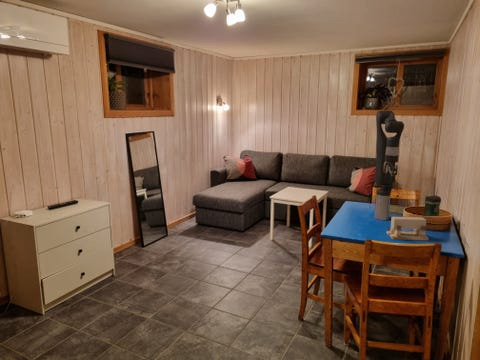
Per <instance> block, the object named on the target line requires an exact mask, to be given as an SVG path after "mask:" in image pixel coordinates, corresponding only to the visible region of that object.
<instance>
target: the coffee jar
mask: <svg viewBox="0 0 480 360" xmlns="http://www.w3.org/2000/svg"><path fill="white" fill-rule="evenodd" d="M441 203H442V198H441V196H438V195H429V196H425V197H424V210H423V215H424V216H439V217H440V205H441Z"/></svg>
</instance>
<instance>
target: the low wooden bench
mask: <svg viewBox="0 0 480 360" xmlns="http://www.w3.org/2000/svg"><path fill="white" fill-rule="evenodd" d="M426 230H427V227H425V226H421V230H419V229H413V231H408V230H407V231H403V230H402V229H401V226H397V227H396V229H393V228H392V227H391V226H390V230H386V234H387V235H388V237H390V238H391V239H392V240H395V241H396V240H397V241H399V240H400V241H407V240H408V241H429V239H430V238H429V237H428V236H427V235H426Z"/></svg>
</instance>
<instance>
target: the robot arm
mask: <svg viewBox="0 0 480 360" xmlns="http://www.w3.org/2000/svg"><path fill="white" fill-rule="evenodd" d="M375 116H376V117H375V124H376V149H375V150H376V151H375V154H376V155H375V156H376V157H375V170H374V171H375V172H374V182H375V184H376V185H377V186H382V187H381V188H378V189H377V190H376V193H375V194H376V195H375V209H374V219H376V220H381V221H388V220H389V219H390V217H389V216H390V214H389V208H390V205H391V195H392V191H393V190H392V189H393V185H394V184H393V183H395V182H396V176H398V170H399V169H398V167H399V166H398V164H396V163H399V159H400V158H399V157H400V141H401V136H402V134H403V131H404V128H405V124H404V122H403V121H401V120H397V119H396V116H395V113H394V111H393V110H378V111H377V112H376V115H375ZM382 125H384V129H383V126H382ZM385 132H386V134H387V133H388V134H395V135H394V136H389V137H388V136H387V135H386V134H385ZM383 170H384V171H383Z"/></svg>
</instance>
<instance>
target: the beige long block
mask: <svg viewBox="0 0 480 360" xmlns="http://www.w3.org/2000/svg"><path fill="white" fill-rule="evenodd" d="M397 226H401V230H414V229H419V230H421V226H425V227H426V226H427V223H426V219H424V218H423V216H421V217H418V216H409V217H406V216H391V220H390V228H391V227H392V228H393V229H396V227H397ZM426 228H427V227H426Z"/></svg>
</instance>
